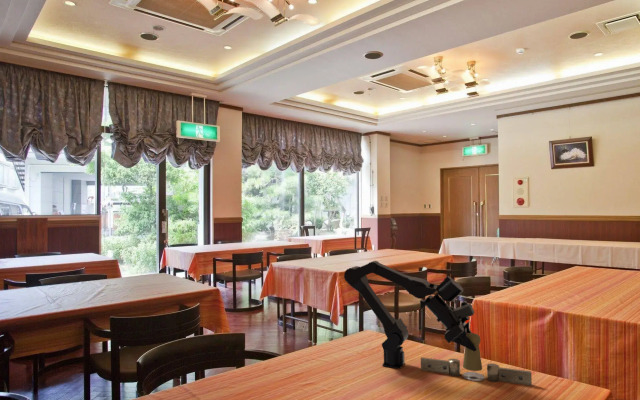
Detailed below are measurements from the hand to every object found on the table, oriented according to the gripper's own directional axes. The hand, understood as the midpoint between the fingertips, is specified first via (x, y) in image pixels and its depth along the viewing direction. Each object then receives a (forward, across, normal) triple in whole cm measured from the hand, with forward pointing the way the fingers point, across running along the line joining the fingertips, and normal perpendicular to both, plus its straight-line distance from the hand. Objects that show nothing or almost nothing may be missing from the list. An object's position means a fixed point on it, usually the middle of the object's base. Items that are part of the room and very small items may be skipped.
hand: (476, 347), depth 136 cm
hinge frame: (+6, 0, +8) cm, 10 cm away
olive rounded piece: (+4, 0, +6) cm, 7 cm away
